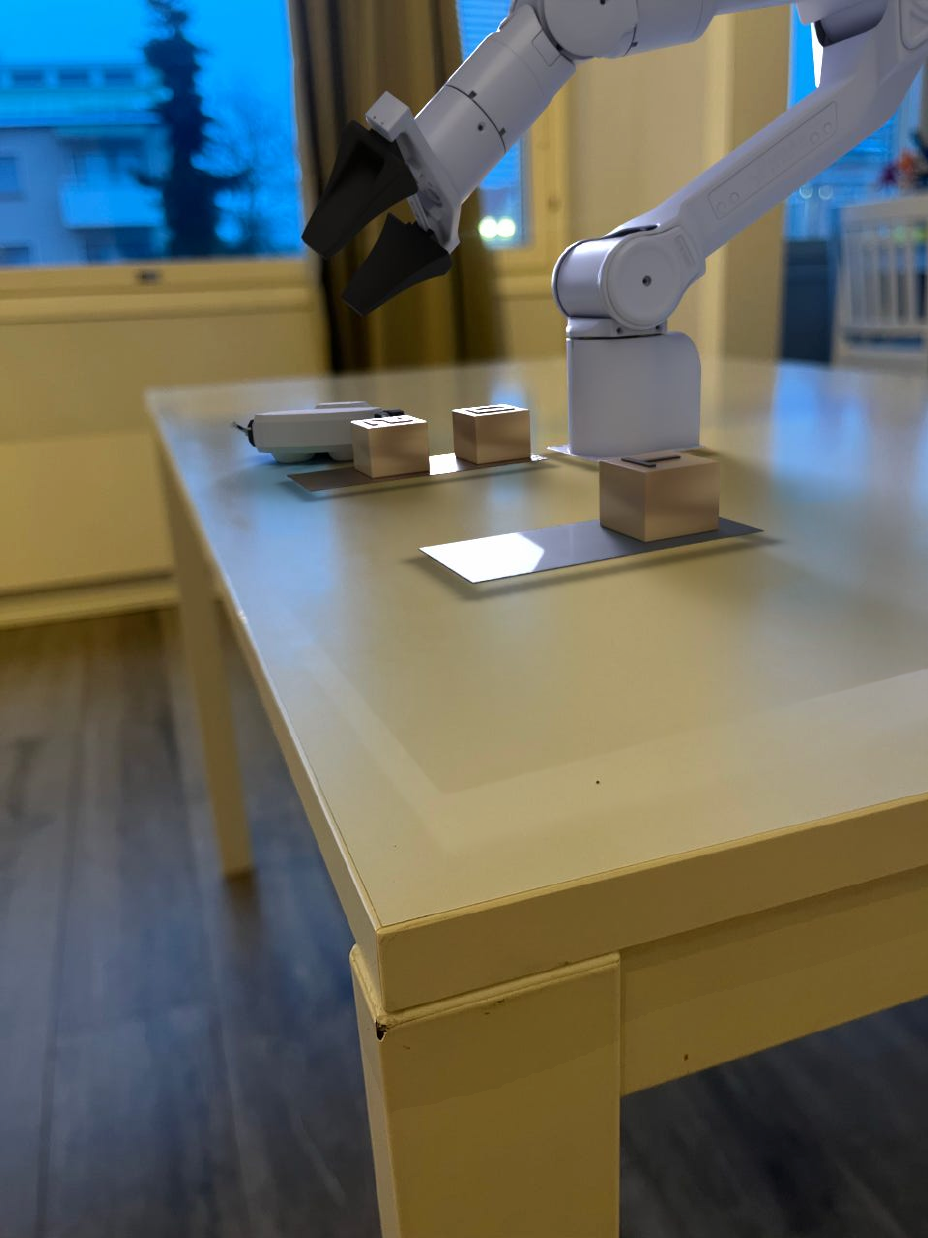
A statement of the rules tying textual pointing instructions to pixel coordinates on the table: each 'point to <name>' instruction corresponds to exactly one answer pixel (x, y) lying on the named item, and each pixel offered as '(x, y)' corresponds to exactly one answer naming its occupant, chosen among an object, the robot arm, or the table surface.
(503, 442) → the tile
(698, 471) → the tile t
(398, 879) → the table surface
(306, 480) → the strip back
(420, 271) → the robot arm
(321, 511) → the table surface
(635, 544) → the strip front
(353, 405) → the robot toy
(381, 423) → the tile
